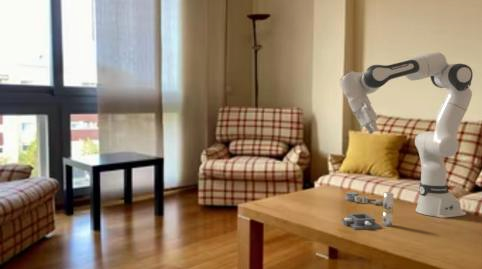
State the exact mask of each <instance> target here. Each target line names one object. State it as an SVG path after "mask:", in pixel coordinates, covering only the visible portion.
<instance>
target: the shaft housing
mask: <svg viewBox="0 0 482 269" xmlns="http://www.w3.org/2000/svg"><path fill="white" fill-rule="evenodd" d="M347 215H348V216H347V217H343V218H341V221H342V222H343V225H344V226H346V227H351V228H352V229H353V230H365V231H369V230H370V231H373V230H375V229H382V224H379V223H378V222H376V218H374V217H373V216H371V215H370V214H367V213H366V212H365V213H348V214H347Z"/></svg>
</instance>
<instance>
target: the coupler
mask: <svg viewBox="0 0 482 269" xmlns="http://www.w3.org/2000/svg"><path fill="white" fill-rule="evenodd" d="M382 200H383V201H382V202H383V204H382V224H381V226H384V227H392V226H393V213H394V193H393V192H387V191H385V192H383V199H382Z"/></svg>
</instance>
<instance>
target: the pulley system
mask: <svg viewBox="0 0 482 269" xmlns="http://www.w3.org/2000/svg"><path fill="white" fill-rule="evenodd" d="M382 200H383V199H374V198H373V199H370V198H369V197H368V196H361V195H359V193H358V192H351V191H350V192H345V196H344V201H345V202H348V203H349V202H350V203H359V202H360V203H361V202H362V203H363V204H367V203H371V204H373V205H376V206H379V205H382V202H383V201H382Z"/></svg>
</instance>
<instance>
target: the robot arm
mask: <svg viewBox="0 0 482 269" xmlns="http://www.w3.org/2000/svg"><path fill="white" fill-rule="evenodd" d="M473 74H474V73H473V70H472V68H471V67H470V66H469V65H468V64H463V63H451V64H450V63H448V62H447V57H446V56H445V55H444V54H443V53H442V52H439V51H438V52H437V51H436V52H428V53H424V54H420V55H416V56H414V57H413V56H412V57H410V58H409V59H407V60H404V61H400V62H396V63H392V64H389V65H388V64H387V65H384V64H373V65H370V66H369V67H367V69H366V70H365V72H356V71H353V70H351V71H349V72H346V73H345V74H344V75H343V76H342V77H341V78H340V80H339V84H340V87H341V91H342V92H343V95H344V96H345V98H346V99H347V101H348V105H349V107H350V109H351V113H352V114H353V115H354V116H355V118H356V120H357V122H358V124H359V125H360V127H361V128H365V129H366V131H367V132H368V134H369V135H372V134H374V132H377V131H379V128H378V125H377V121H376V120H377V119H378V116H377V113H376V112H375V110H374V108H373V107H372V103H371V101H370V98H369V97H368V95H369V94H373V93H375V92H377V91H378V90H379V89H380V88H381V87H383V86H384V85H385V84H387V83H388V82H389V81H390V80H394V79H398V78H401V77H406V78H407V79H408V80H409V81H419V80H424V79H427V78H430V81H431V83H432V85H434V86H435V87H437V88H439V89H446V93H445V94H446V95H445V97H444V99H443V100H442V102H441V105H440V107H439V108H438V110H437V112H436V115H435V117H434V118H435V122H436V123H435V128H434V131H430V130H429V131H424V132H423V131H422V132H420V133H419V134H417V135H416V136H415V139H414V145H415V147H416V150H417V152H418V154H419V160H420V166H421V167H420V168H421V171H420V173H421V174H420V182H419V190H418V191H419V197H418V202H417V206H416V208H415V212H417V213H418V214H421V215H425V216H431V217H438V218H441V219H442V218H445V219H447V218H454V217H462V216H466V215H467V213H466V211H464V210H463V209H462V206H461V202H460V200H459V199H457V197H455V195H453V194H451V193H450V191H453V190H454V186H453V185H448V184H447V174H448V173H447V172H448V171H447V170H448V169H447V166H446V165H445V162H444V159H443V158H450V157H453V156H455V155H456V154H457V152H458V150H459V142H458V131H459V128H460V124H461V123H462V121H463V119H464V117H465V114H466V112H467V110H468V108H469V105H470V103H471V99H472V97H473V91H472V90H471V88H470V86H471V85H472V80H473Z"/></svg>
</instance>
